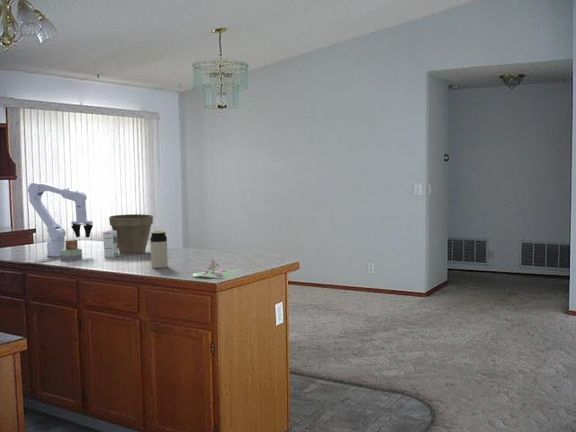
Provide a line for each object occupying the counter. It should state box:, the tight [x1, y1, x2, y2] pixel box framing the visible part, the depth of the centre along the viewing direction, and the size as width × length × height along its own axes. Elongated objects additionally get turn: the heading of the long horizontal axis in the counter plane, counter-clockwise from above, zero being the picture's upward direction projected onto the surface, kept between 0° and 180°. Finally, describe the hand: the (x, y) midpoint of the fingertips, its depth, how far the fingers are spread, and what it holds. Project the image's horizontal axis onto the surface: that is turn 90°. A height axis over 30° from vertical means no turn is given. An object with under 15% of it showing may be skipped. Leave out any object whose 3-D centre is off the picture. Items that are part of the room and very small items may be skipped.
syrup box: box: [102, 230, 119, 258], centre depth 355 cm, size 6×6×14 cm
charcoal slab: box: [59, 253, 83, 262], centre depth 348 cm, size 8×8×3 cm
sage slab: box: [60, 248, 83, 256], centre depth 347 cm, size 8×8×3 cm
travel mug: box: [149, 230, 169, 269], centre depth 314 cm, size 8×8×18 cm
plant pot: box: [108, 213, 154, 255], centre depth 368 cm, size 25×25×22 cm
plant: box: [191, 256, 241, 279], centre depth 293 cm, size 25×21×9 cm
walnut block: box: [64, 239, 79, 250], centre depth 347 cm, size 4×4×5 cm
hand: (82, 237), depth 362 cm, fingers open, 7 cm apart
